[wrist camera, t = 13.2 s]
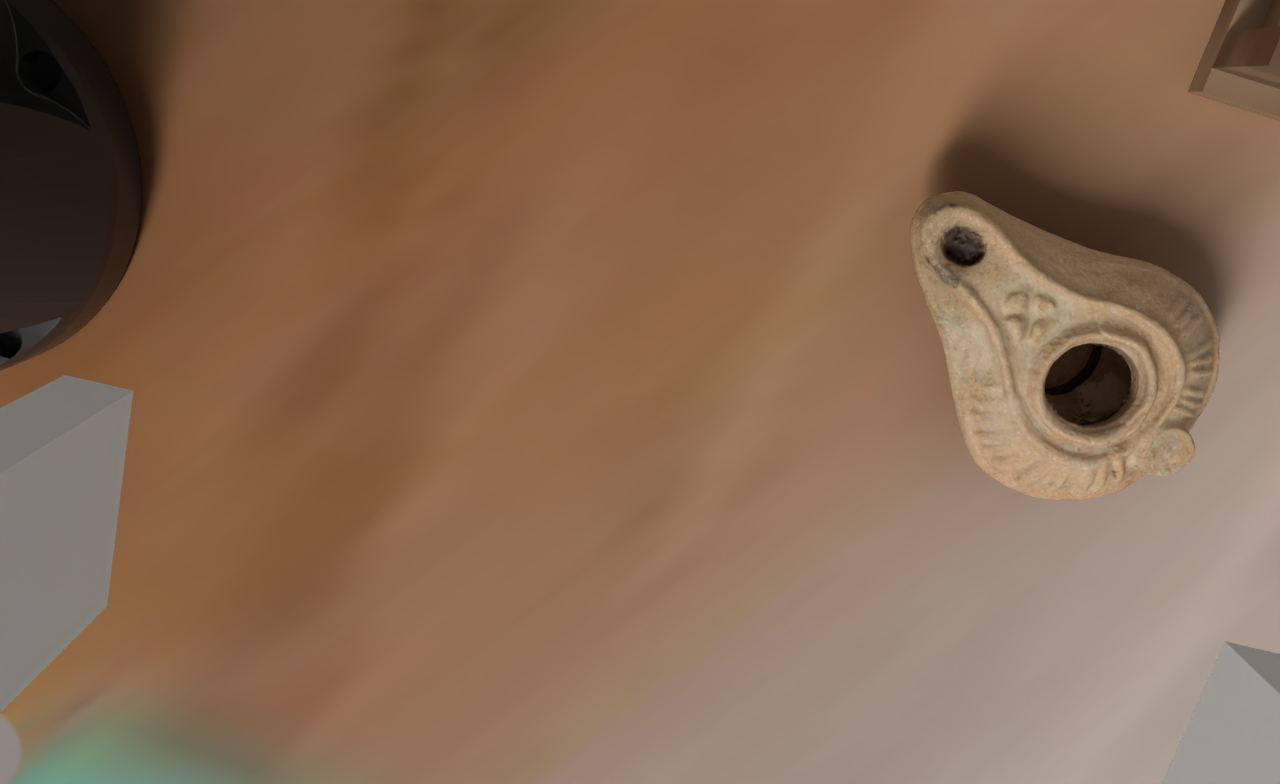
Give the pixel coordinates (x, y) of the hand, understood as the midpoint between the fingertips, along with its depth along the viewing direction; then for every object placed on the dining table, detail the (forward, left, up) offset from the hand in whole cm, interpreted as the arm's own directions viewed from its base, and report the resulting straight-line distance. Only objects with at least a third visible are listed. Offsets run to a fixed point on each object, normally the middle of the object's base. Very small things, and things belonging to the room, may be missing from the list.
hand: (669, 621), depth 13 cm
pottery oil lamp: (+14, +2, -28) cm, 31 cm away
